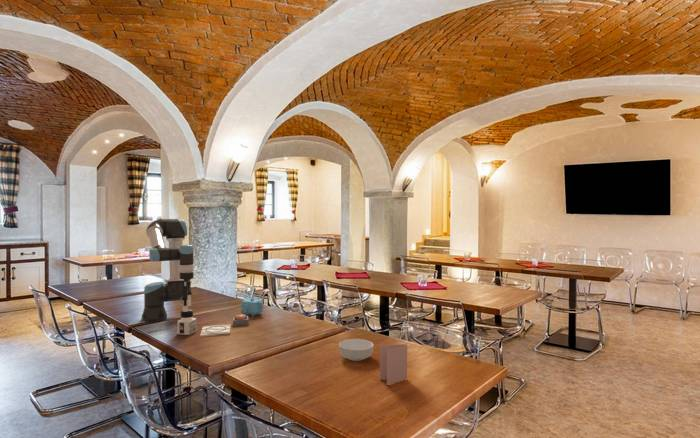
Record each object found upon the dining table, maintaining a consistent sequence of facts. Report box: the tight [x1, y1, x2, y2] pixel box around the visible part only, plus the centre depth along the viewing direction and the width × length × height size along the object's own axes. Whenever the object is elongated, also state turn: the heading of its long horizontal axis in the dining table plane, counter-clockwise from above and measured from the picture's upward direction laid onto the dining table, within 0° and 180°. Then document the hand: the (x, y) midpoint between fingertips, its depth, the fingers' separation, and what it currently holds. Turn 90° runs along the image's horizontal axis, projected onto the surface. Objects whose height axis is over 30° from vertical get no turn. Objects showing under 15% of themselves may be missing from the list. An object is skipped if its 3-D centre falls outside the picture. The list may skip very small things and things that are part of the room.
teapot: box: [240, 296, 264, 318], centre depth 286 cm, size 16×18×11 cm
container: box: [176, 309, 198, 336], centre depth 244 cm, size 8×8×13 cm
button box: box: [232, 315, 249, 327], centre depth 263 cm, size 9×9×4 cm
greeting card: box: [379, 344, 408, 386], centre depth 176 cm, size 11×7×15 cm, turn 92°
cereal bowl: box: [338, 338, 375, 362], centre depth 204 cm, size 17×17×7 cm
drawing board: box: [199, 323, 232, 338], centre depth 247 cm, size 18×16×1 cm
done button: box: [235, 313, 246, 320], centre depth 263 cm, size 6×6×2 cm
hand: (187, 308), depth 244 cm, fingers open, 13 cm apart
